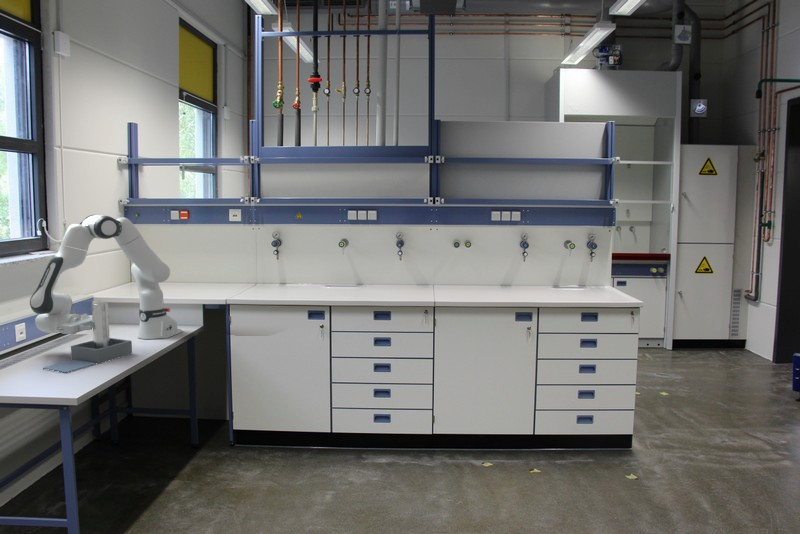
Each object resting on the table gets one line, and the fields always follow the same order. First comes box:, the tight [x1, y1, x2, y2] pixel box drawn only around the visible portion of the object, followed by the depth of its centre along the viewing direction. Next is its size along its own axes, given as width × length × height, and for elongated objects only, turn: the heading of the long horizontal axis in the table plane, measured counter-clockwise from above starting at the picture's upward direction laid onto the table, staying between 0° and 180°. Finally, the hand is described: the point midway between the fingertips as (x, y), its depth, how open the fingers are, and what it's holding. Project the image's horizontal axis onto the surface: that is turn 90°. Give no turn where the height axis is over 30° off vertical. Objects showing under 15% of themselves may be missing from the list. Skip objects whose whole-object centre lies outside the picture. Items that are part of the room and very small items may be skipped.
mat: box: [42, 358, 97, 374], centre depth 248 cm, size 14×14×1 cm
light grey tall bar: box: [90, 299, 111, 349], centre depth 263 cm, size 6×6×25 cm
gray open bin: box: [70, 337, 133, 365], centre depth 264 cm, size 18×16×6 cm
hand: (98, 325), depth 263 cm, fingers open, 8 cm apart
